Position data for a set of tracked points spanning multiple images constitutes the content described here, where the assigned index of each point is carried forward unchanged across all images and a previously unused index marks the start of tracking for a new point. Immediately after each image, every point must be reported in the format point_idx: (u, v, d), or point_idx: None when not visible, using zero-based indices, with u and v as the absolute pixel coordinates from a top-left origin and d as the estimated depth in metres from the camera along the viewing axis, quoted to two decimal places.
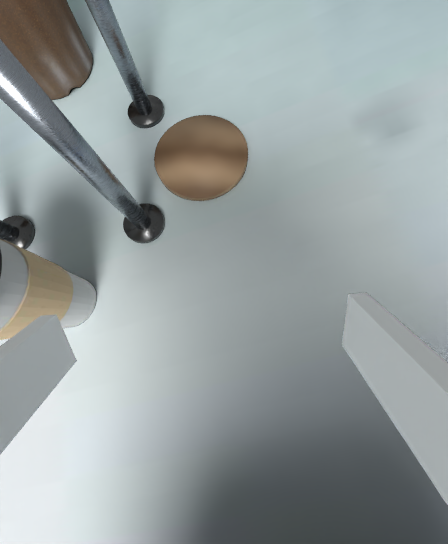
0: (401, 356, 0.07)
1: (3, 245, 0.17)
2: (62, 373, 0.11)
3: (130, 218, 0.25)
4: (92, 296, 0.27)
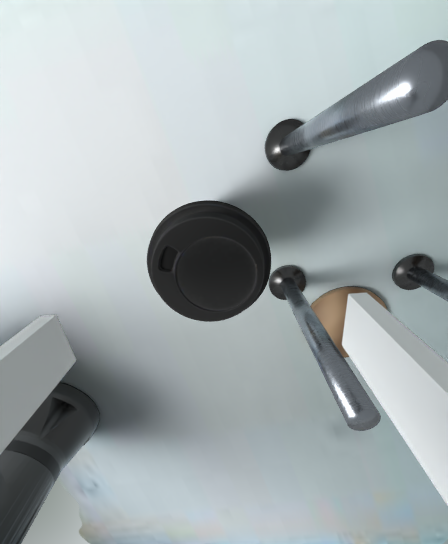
0: (401, 356, 0.07)
1: None
2: (62, 373, 0.11)
3: (285, 293, 0.29)
4: None
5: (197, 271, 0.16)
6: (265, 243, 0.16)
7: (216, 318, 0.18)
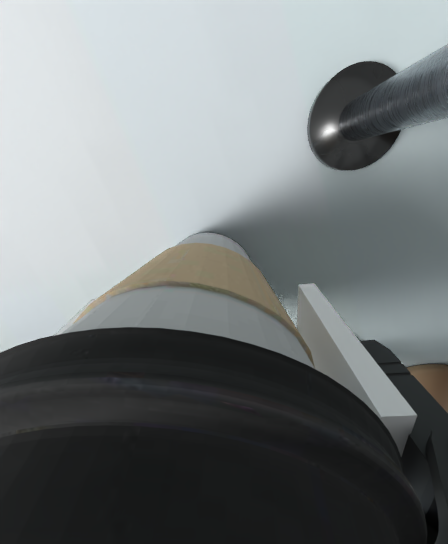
0: (325, 334, 0.08)
1: None
2: None
3: None
4: None
5: None
6: (422, 525, 0.03)
7: None
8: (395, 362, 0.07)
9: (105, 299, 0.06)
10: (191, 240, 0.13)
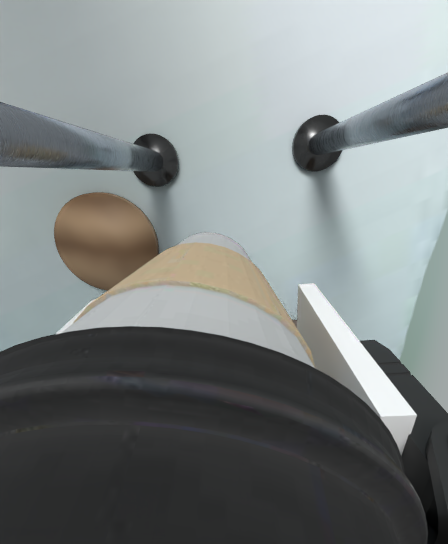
0: (325, 334, 0.08)
1: None
2: None
3: None
4: None
5: None
6: (422, 524, 0.03)
7: None
8: (395, 362, 0.07)
9: (105, 299, 0.06)
10: (191, 240, 0.13)
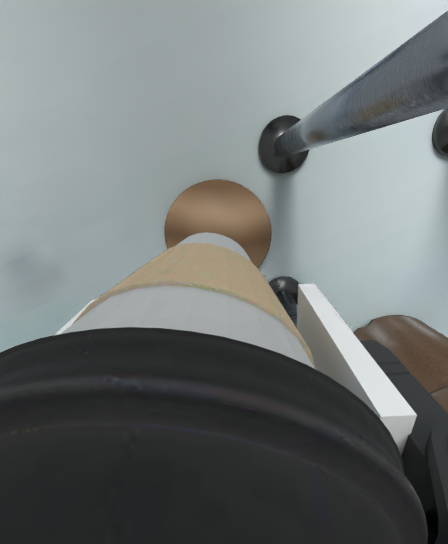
0: (325, 334, 0.08)
1: None
2: None
3: None
4: None
5: None
6: (422, 525, 0.03)
7: None
8: (395, 362, 0.07)
9: (105, 299, 0.06)
10: (191, 240, 0.13)
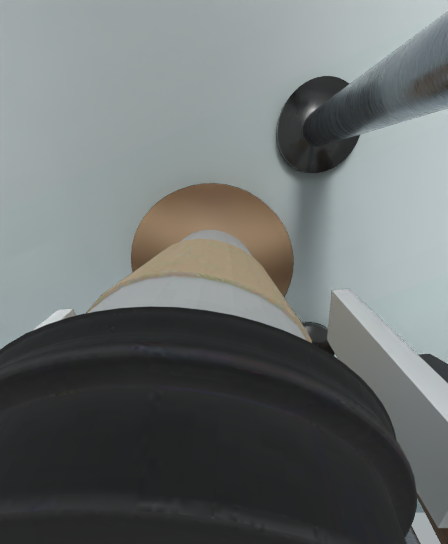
0: (375, 347, 0.07)
1: None
2: None
3: None
4: None
5: None
6: (411, 486, 0.04)
7: None
8: None
9: (117, 289, 0.06)
10: (195, 236, 0.13)
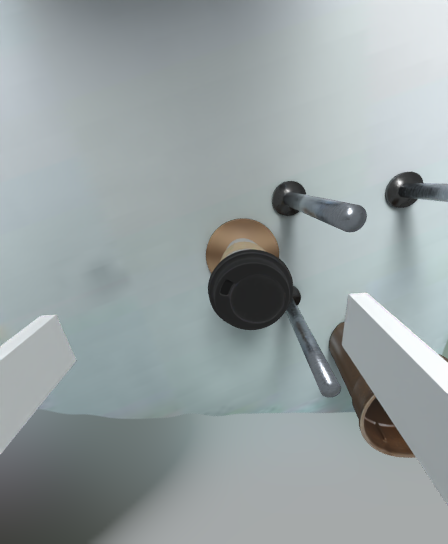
0: (401, 356, 0.07)
1: None
2: (62, 373, 0.11)
3: None
4: None
5: (245, 296, 0.24)
6: (290, 278, 0.25)
7: (255, 327, 0.26)
8: None
9: (232, 252, 0.27)
10: (239, 241, 0.34)
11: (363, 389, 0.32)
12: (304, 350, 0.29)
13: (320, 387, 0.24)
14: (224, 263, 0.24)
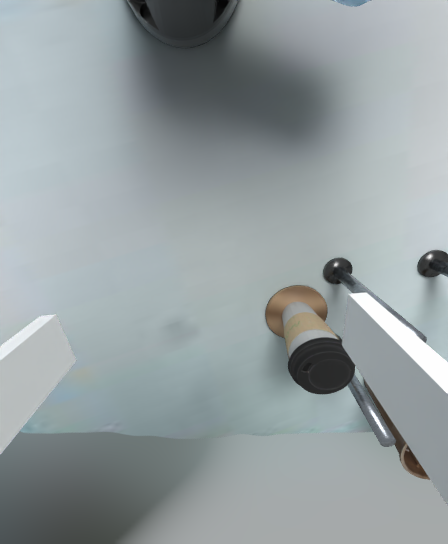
0: (401, 356, 0.07)
1: None
2: (62, 373, 0.11)
3: (347, 273, 0.40)
4: None
5: (320, 372, 0.32)
6: None
7: (325, 393, 0.34)
8: None
9: (304, 331, 0.35)
10: (299, 308, 0.42)
11: None
12: (359, 403, 0.37)
13: (380, 440, 0.32)
14: (304, 348, 0.32)
